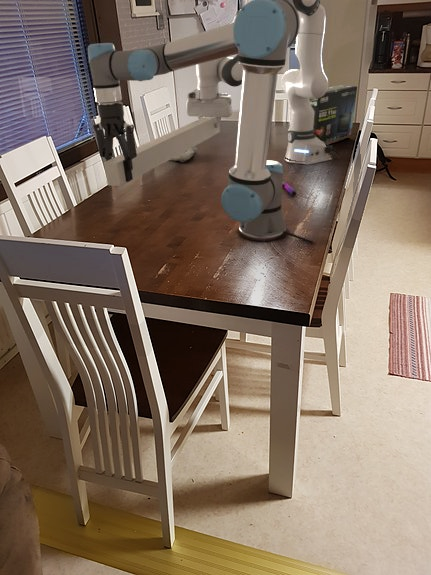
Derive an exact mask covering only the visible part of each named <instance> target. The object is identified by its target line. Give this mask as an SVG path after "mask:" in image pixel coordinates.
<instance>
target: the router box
mask: <svg viewBox="0 0 431 575" xmlns="http://www.w3.org/2000/svg"><path fill="white" fill-rule="evenodd" d="M357 93H358V86H356V85H350V84H339V85H338V84H337V85H334V86H328V89H327V91H326V93H325V94H324V96H322V97H320V98H316V99H309V101H310V104H311V106H312V108H313V109H314V127H313V128H314V129H315V130H320V131H321V134H320V135H317V134H316V137H317V138H318V139H320V140H321V141H322V142H323V143H324V144H325V143H328V142H331V141H333V140H336V139H338V138H341V137H344V136H347V135H351V136H352V133H353V132H352V131H353V125H354V115H355V109H356V99H357Z"/></svg>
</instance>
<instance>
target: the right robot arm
mask: <svg viewBox="0 0 431 575" xmlns="http://www.w3.org/2000/svg"><path fill="white" fill-rule="evenodd" d="M287 1H289V2H290V3H292V4H293V5H294V7H295V8H296V10H297V12H298V14H299V18H300V29H299V33H298V36H297V38H296V44H295V52H294V53H295V56H296V58H297V59H298V63H299V68H295V69H289V70H287V71H286V72H284V74H282V77H281V81H280V87H281V89H282V91H283V92H284V94H285V95H286V100H287V103H288V104H287V105H288V109H289V124H288V125H289V127H288V130H287V147H286V152H285V155H284V161H285V162H287V163H290V164H291V163H292V164H299V165H301V164H302V165H314V164H318V163H323V162H326V161H327V162H328V161H331V160H333V157H332V158H329V159H324V160H319V161H314V162H311V161H308V162H310V163H305V162H295V161H289V160H287V159H285V157H286V158H288V159H291V160H296V161H305V160H309V159H314V158H318V157H322V156H327V155H328V154H331V153H332V152H335V153H336V154H337V156H338V155H340V152H339V151H338V150H337V149H334V148H333V147H334V146H333V144H331V145H327V146H326V145H325V144H324V143H323V142H322V141H321V140H320V139H318V138H317V137H316V134H317V135H320V134H321V131H320V130H315V129H314V128H313V127H314V109H313V108H312V106H311V104H310V101H309V99H316V98H320V97H322V96H324V94H325V93H326V91H327V89H328V87H329V79H328V77H327V76H326V74H325V71H324V68H323V61H322V60H323V59H322V53H323V45H324V44H323V43H324V37H325V29H326V10H325V7H324V6H323V5H322V4H321V0H287ZM195 75H196V80H197V83H196V89H193V90H192V91H189V92H188V93H187V94H186V97H187V100H186V107H185V108H186V114H187V116H188V117H198V119H197V120H199V119H201V118H203V117H216V120H217V122H216V123H215V124H214V127H215V128H219V124H220V122H221V120H222V118H231V116H232V115H233V106H232V96H231V95H230V94H229V93H226V92H225V93H221V92H220V88H219V83H220V82H222V83H225V84H227V85H228V86H230V87H239V86H242V77H243V69H242V68H241V66H240V65H239V63H238V54H236V55H234V57H233V56H232V57H231V56H228V57H224V58H220V59H217V60H213V61H209V62H205V63H202V64H198V65H195ZM331 156H332V155H331ZM331 156H329V157H331Z"/></svg>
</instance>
